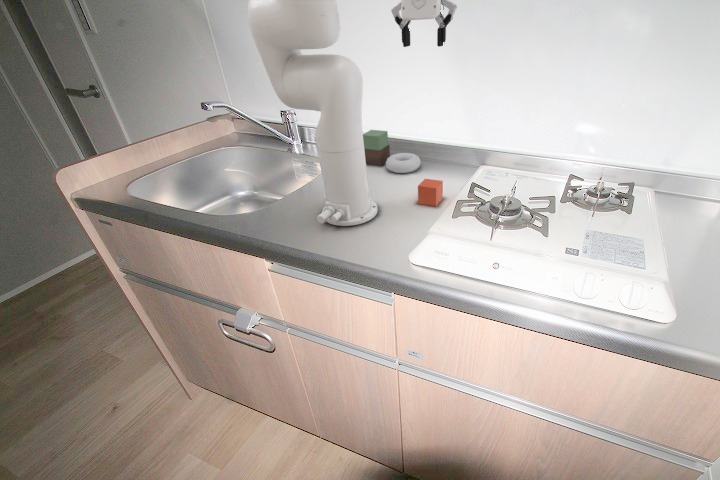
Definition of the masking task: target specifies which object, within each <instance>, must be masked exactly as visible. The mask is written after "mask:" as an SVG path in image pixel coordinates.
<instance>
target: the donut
mask: <svg viewBox="0 0 720 480" xmlns="http://www.w3.org/2000/svg"><path fill="white" fill-rule="evenodd" d="M421 163H422V160H421V158H420V157H419V156H418V155H417V154H415V153H411V152H398V153H394V154H392V155H391V154H390V157H388V158H387V161H386V163H385V166H386V168H387V170H388V171H390V172H393V173H396V174H409V173H412V172H415V171H417V170H418V169H419V168H420V166H421Z"/></svg>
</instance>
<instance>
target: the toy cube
mask: <svg viewBox="0 0 720 480" xmlns="http://www.w3.org/2000/svg"><path fill="white" fill-rule="evenodd" d="M443 189H444V180H439V179H431V178H424V179H423V180H422V181H421V182H420V183H419V184H418V185H417V204H418V205H425V206H431V207H437V206H438V205H439V204H440V203H441V201H442V200H443V197H444V195H443V193H444V192H443V191H444V190H443Z"/></svg>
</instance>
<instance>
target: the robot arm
mask: <svg viewBox="0 0 720 480" xmlns="http://www.w3.org/2000/svg"><path fill="white" fill-rule="evenodd" d="M441 4H442V5H443V10H444V11H445V8H447V9H448V13H447V14H446V16H444V14H443V15H442V14H441V12H440V10H441ZM457 9H458V6H457V4H455V3H454V2H452V1H450V0H401V1H399V3H397V4H396V5H395V6H394V7H392V8H391V11H390V12H391V14H392V17H393V18H394V21H395V23H396V24H397V25H398V26H399V29H400V30H401V43H402V47H403V48H407V47H410V46H411V30H410V31H409V29H410V28H409V26H410V24H411V23H412V21H420V20H423V21H424V20H435V21H436V23H437V25H438V28H437V35H436V36H437V37H436V38H437V39H436V41H437V43H436V44H437V45H436V46H437V47H439V48H440V47H443V42H444V43H446V40H447V38H446V37H447V27H448V26H447V25H449V24H450V23H451V21H452V20H453V18H454V16H455V13H456V12H457ZM400 13H401V14H400ZM434 18H435V19H434ZM411 20H412V21H411ZM247 21H248V25H249V26H248V27H249V29H250V33H251V35H252V38H253V41H254V44H255V46H256V48H257V51H258V54H259V57H260V59H261V61H262V64H263V67H264V69H265V71H266V74H267V76H268V79H269V81H270V83H271V86H272V88H273V90H274V92H275V95H276V96H277V97H278V99H279V101H280V102H281V103H282V104H283V105H284V106H286V107H288V108H291V109H295V110H305V111H315V112H320V117H319V120H318V122H317V125H316V128H315V144H316V148H317V154H318V155H317V156H318V159H319V165H320V172H321V178H322V182H323V188H324V193H325V198H326V201H325V202H324V205H325V206H324V207H323V208H322V211H321V212H320V214H318V215H317V216H316V220H317V222H318V223H319V224H324V223H328V224H330V225H333V226H338V227H350V226H351V227H353V226H357V225H362V224H364V223H367V222H369V221H370V220H372V219H374V218H375V217H376V215H377V214H378V212H379V211H378V204H377V203H376V202H375V201H374V200H372V199H371V198H370V189H369V180H368V169H367V164H366V159H365V150H364V141H363V134H364V132H363V119H362V109H363V108H362V106H363V93H364V84H363V83H364V80H363V75H362V72H361V69H360V67H359V66H358V65H357V63H356V62H354V61H353V60H352V59H351V58H348V57H346V56H343V55H340V54H325V53H324V54H323V53H322V54H303V53H302V50H318V49H319V50H322V49H327V48H329V47H332V46H333V45H335V44H336V43H337V42H338V41H339V38H340V34H341V20H340V15H339V9H338V5H337V1H336V0H248V1H247ZM408 25H409V26H408Z"/></svg>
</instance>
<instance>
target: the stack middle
mask: <svg viewBox="0 0 720 480" xmlns="http://www.w3.org/2000/svg"><path fill="white" fill-rule="evenodd" d="M388 134H389V133H388V130H380V129H379V130H377V129H370V130H368V131H366V132H364V133H363V141H364V149H369V150H379V151H380V150H381V149H383V148H384V147H386V146H387V145H389V135H388Z"/></svg>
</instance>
